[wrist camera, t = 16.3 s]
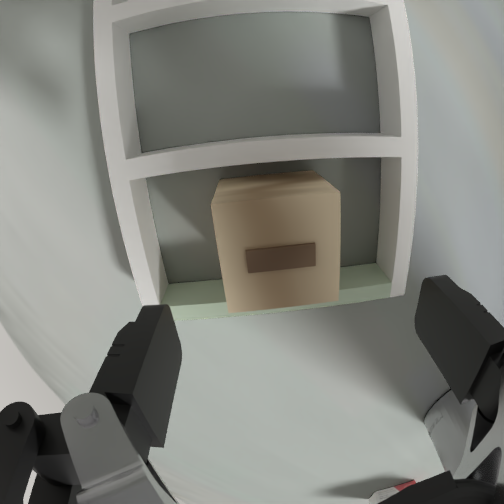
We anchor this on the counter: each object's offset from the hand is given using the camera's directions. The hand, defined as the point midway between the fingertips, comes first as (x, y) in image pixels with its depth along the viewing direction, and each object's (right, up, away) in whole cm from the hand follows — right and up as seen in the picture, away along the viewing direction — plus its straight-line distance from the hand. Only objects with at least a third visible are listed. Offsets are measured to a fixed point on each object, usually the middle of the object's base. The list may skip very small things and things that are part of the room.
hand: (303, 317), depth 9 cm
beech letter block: (0, +4, +8) cm, 9 cm away
